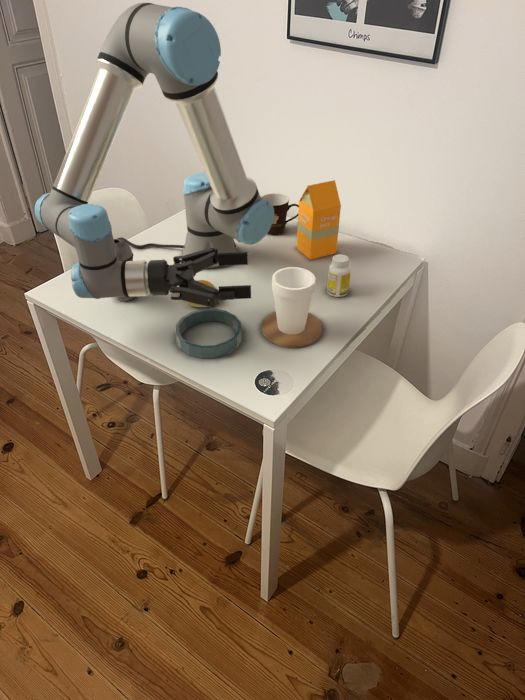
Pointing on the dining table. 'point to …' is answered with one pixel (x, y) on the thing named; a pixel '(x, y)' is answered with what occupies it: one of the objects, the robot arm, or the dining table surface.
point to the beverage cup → (123, 259)
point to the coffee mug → (279, 212)
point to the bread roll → (208, 300)
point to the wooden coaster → (291, 341)
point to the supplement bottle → (338, 276)
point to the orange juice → (318, 220)
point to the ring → (210, 350)
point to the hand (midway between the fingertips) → (249, 274)
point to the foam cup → (292, 298)
